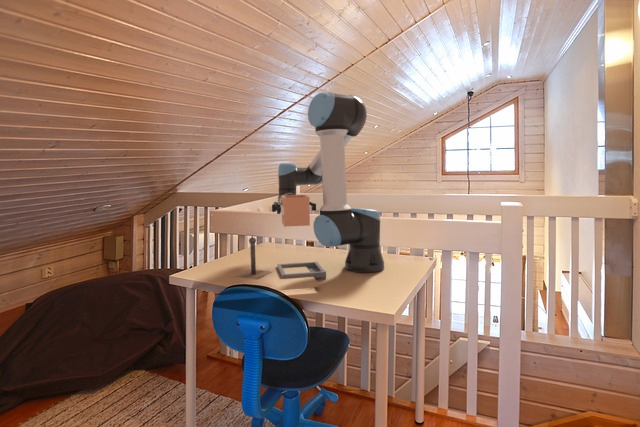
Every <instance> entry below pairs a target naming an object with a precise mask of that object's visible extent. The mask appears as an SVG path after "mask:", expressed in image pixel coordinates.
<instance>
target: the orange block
mask: <svg viewBox="0 0 640 427" xmlns="http://www.w3.org/2000/svg"><path fill="white" fill-rule="evenodd" d="M281 200H282V205H283V207H284V215H282V214H281V224H282V225H283V227H286V228H287V227H303V226H305V227H307V226H310V225H311V220H310V219H311V218H310V217H311V216H310V215H311V214H310V211H309V206H310V205H309V202H310V196H308V195H306V194H296V195H281Z"/></svg>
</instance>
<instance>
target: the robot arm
mask: <svg viewBox="0 0 640 427" xmlns="http://www.w3.org/2000/svg"><path fill="white" fill-rule="evenodd" d="M367 114H368V113H367V108H366V106H365V103H364V102H363V101H362V100H361V99H360V98H359V97H357V96H354V95H352V94H351V95H350V94H340V93H333V92H319V93H317V94H316V95H314V96H313V98H312V99H311V101H310V103H309V106H308V108H307V120H308V122H309V124H310V125H311V126H312V127H314V128H315V130H314V131H315V135H317V137H319V139H320V141H319V143H320V149H319V151H318V152H317V153H316V155H315V156H314V158H313V159H312V160H311V162H310V163H309V165H308V166H307V167H297V164H296V163H291V162H290V163H284V162H283V163H279V165H278V172H277V173H278V174H277V175H278V176H277V177H278V196H277V201H274V202H273V204H272V205H271V212H272V213H276V214H277V215H280V214H281V216H282V215H284V207H283V205H282V200H281V195H297V186H306V185H307V186H312V185H314V186H315V185H316V186H317V185H322V186H321V187H322V206H321V207H320V208H319V214H318V216H316V217H315V218H314V221H313V225H312V226H313V232H314V235H315V237H316V239H317V241H318V242H319V243H320V244H321V245H322V246H323V247H327V248H331V247H332V248H333V247H334V248H337V247H340V246H345V245H349V248H348V251H347V255H346V258H345V260H344V268H345V270H347V271H350V272H353V273H361V274H362V273H365V274H367V273H377V272H378V273H379V272H381V271H383V270H384V269H385V260H384V258H383V255H382V254H383V253H382V252H381V247H380V246H381V244H380V243H381V218H380V217H381V215H380V214H381V213H380V212H379V211H378V210H377V209H370V208H363V207H362V208H361V207H351V206H350V205H349V204H348V195H347V193H348V192H347V175H346V174H347V172H346V151H345V150H346V149H345V148H346V146H347V145H348V144H349V142H350V141H351V140H352V139H353V138H355V137H357V136H358V135H359V134H360V133H361V131H363V128H364V126H365V125H366V121H367ZM309 205H310V206H309V211H310V215H311V214H312V212H315V211H317V203H314V202H312V201H309Z"/></svg>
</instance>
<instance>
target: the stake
mask: <svg viewBox="0 0 640 427" xmlns="http://www.w3.org/2000/svg"><path fill="white" fill-rule="evenodd" d="M248 242H249V244H250V269H246V270H244V271H242V272H240V273H238V274H235V275H234V276H233V277H235V278H244V279H253V280H260V279H262V278H264V277H265V276H268V275H269V274H271V273H273V271H268V270H259V269H256V268H257V265H256V264H257V263H256V261H257V260H256V242H257V239H256V238H255V237H250V238H249V239H248Z"/></svg>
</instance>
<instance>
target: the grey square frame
mask: <svg viewBox="0 0 640 427" xmlns="http://www.w3.org/2000/svg"><path fill="white" fill-rule="evenodd" d="M276 266H277V270H278V271H279V272H278V273H279V274H280V276H281V279H288V278H289V279H290V278H301V277H302V278H303V277H313V278H314V280H316V281H317V280H327V271H326V270H325V269H324V267H322V266H321V264H320V263H319V262H318V261H310V262H309V261H308V262H307V261H306V262H294V263H292V262H291V263H278V264H276ZM293 267H306V269H307V270H308V272H307V271H306V272H296V273H295V272H294V273H285V271H284V268H293Z"/></svg>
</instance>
